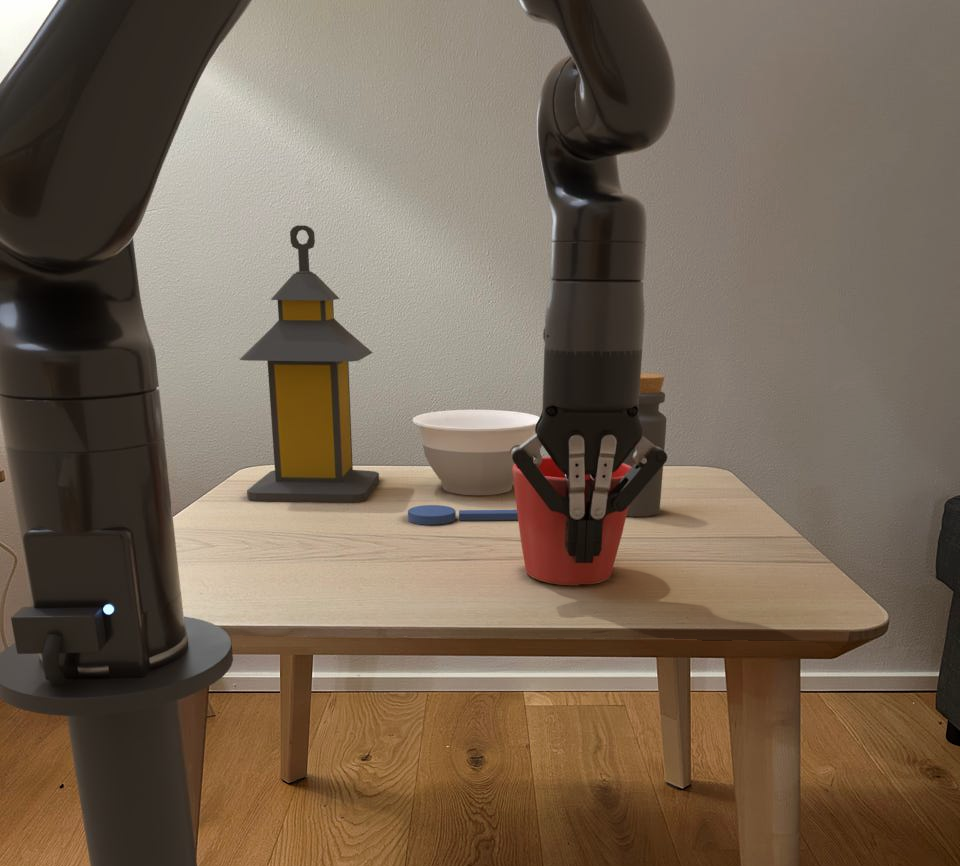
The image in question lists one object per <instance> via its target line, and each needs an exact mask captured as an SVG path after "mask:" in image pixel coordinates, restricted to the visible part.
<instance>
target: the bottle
mask: <svg viewBox="0 0 960 866" xmlns="http://www.w3.org/2000/svg"><path fill="white" fill-rule="evenodd" d="M664 380H665V375H663V374H658V373H650V372H649V373H648V372H647V373H646V372H645V373H643V372H641V377H640V392H639V407H638V414H639V419H640V421H641V423H642V425H643V436H644V437H645V438H646V439H647V440H649V441H650V442H651V443H652V444H653V445H655V446H657V447H659V448H661V449H662V450H663V451H664V452H665V447H666V433H667V417H666V416H665V414H663V413H662V412H661V411H660V410H659V409H660V404H663V403H665V401H666V393H665V392H663V391H662V389H663V385H664ZM635 450H636V447H635V448H634V449H633V450H632V452H631V453H630V454H629V455H628V457H627V458H626V459H625V461H624V462H623V463H624V464H627V465H629V466H631V467H632V466H633V465H634V464H635V463H634V462H633V459H632V457H633V454H634V453H635ZM663 474H664V465H663V466H662V467H661V468H660V469H659V470H658V472H657V473H656V474H655V475H654V476H653V478H652V479H651V480H650V481H649V482H648V483H647V485H646V486H645V487H644V488H643V489H642V491H641V492H640V493H639V494H638V495H637V496H636V498H635V499H634V500H633V501H632V502H631V504H630V505H629V507H628V511H627V515H626V517H630V518H631V517H633V518H638V517H641V518H642V517H651V516H655V515H658V514H659V513H660V509H661V499H662V489H663V488H662V487H663Z"/></svg>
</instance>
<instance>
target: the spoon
mask: <svg viewBox="0 0 960 866" xmlns="http://www.w3.org/2000/svg"><path fill="white" fill-rule="evenodd" d="M456 513H457V512H456V509H455V508H453V507H451V506H448V505H442V504H441V505H440V504H423V505H416V506H413V507H410V508H409V509H408V510H407V520H408V522H410V523H413V524H417V525H423V526H439V525H440V526H441V525H446V524H451V523H453V522H455V521H456V518H457V517H456V515H457V514H456ZM458 520H459V521H460V522H462V521H463V522H467V521H468V522H469V521H471V522H472V521H479V522H480V521H518V515H517V509H461V510H460V509H459V510H458Z"/></svg>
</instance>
